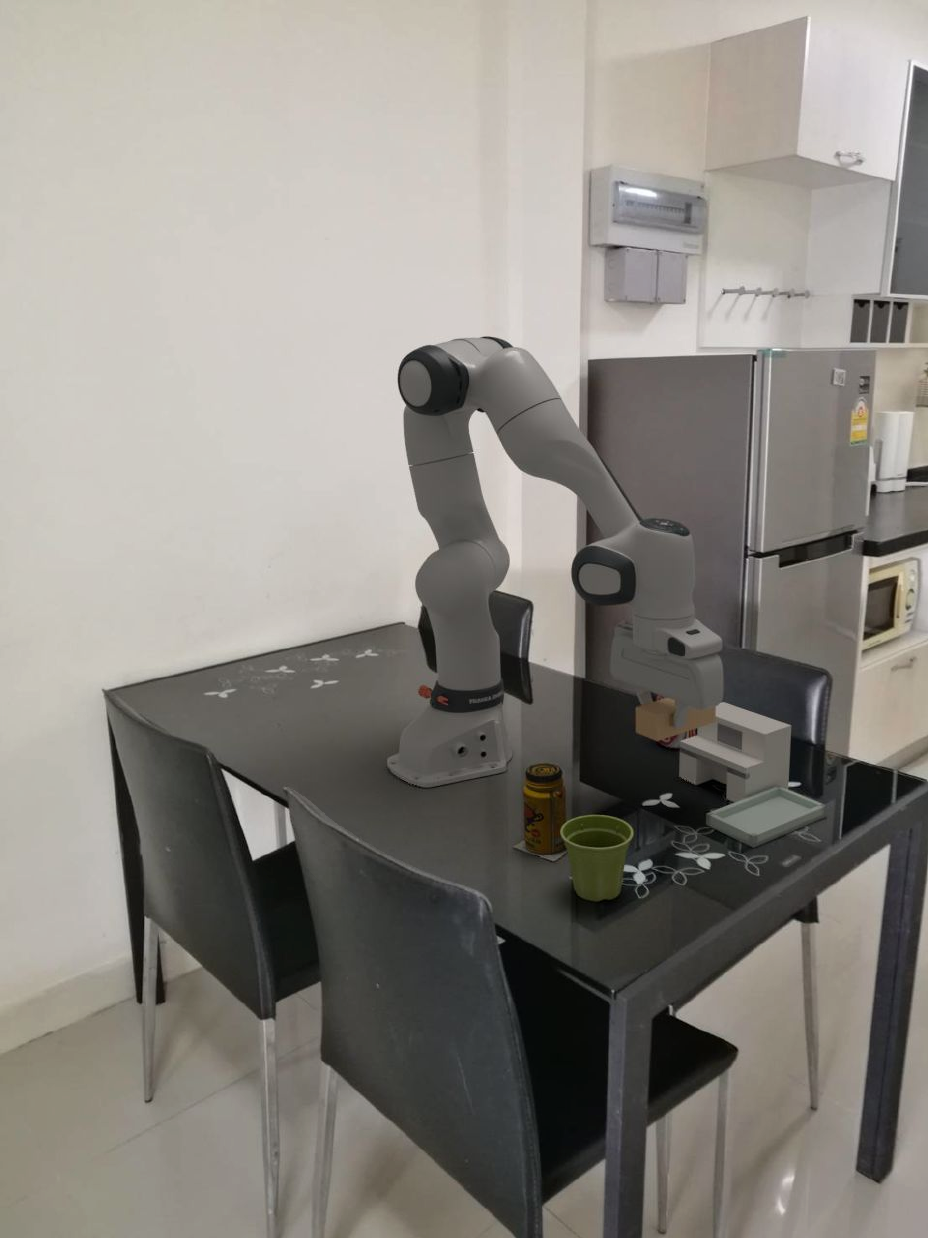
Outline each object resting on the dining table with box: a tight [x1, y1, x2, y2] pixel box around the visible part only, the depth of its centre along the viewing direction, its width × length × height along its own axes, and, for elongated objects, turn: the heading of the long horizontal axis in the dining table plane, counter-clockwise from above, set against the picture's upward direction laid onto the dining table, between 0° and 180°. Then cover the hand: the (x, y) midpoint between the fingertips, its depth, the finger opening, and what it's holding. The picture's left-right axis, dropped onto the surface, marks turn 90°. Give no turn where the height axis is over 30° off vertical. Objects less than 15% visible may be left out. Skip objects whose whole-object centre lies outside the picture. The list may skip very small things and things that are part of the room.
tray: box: [705, 786, 828, 849], centre depth 147 cm, size 16×9×2 cm, turn 123°
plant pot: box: [560, 814, 635, 902], centre depth 129 cm, size 9×9×9 cm
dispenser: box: [678, 701, 792, 803], centre depth 158 cm, size 14×10×11 cm
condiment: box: [513, 762, 568, 862], centre depth 141 cm, size 7×8×12 cm
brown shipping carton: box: [635, 698, 716, 742], centre depth 147 cm, size 12×4×4 cm, turn 123°
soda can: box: [655, 694, 697, 750], centre depth 176 cm, size 7×7×12 cm
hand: (663, 721), depth 146 cm, fingers closed on brown shipping carton, 4 cm apart
